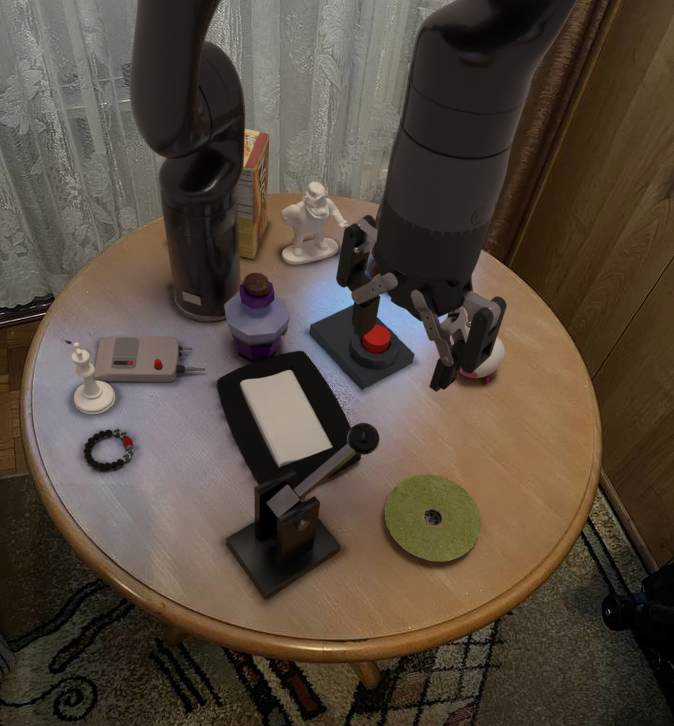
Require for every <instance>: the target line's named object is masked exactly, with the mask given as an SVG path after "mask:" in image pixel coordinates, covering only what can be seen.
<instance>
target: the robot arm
mask: <svg viewBox="0 0 674 726" xmlns="http://www.w3.org/2000/svg"><path fill="white" fill-rule="evenodd" d="M136 1H137V2H136V11H135V12H136V13H135V23H134V30H133V31H134V33H133V41H132V43H133V44H132V50H131V60H130V69H129V80H128V81H129V83H128V84H129V85H128V88H129V89H128V92H129V93H128V94H129V102H130V109H131V113H132V118H133V120H134V123H135V126H136V129H137V131H138V133H139V135H140V136H141V138H142V139H143V141H144V142H145V144H146V145H147V146H148V148H149V149H151V151H153V153H155V154H156V155H158V156H160V157H163V158H165V159H164V160H163V162H162V164H161V165H160V168H159V170H158V176H157V180H158V181H157V183H158V191H159V197H160V203H161V210H162V218H163V224H164V230H165V236H166V244H167V251H168V258H169V267H170V272H171V280H172V287H173V298H174V299H173V300H174V304H175V307H176V308H177V309H178V311H179V312H180V313H181V314H182V315H183V316H185V317H187V318H189V319H191V320H194V321H197V322H204V323H211V322H218V321H222V320H225V319H226V313H225V308H224V304H225V303H227V302H228V301H229V300H230V299H231V298H232V297H233V296H234V295H235V294H237V293H238V292H239V291H240V285H241V260H240V259H241V258H240V257H241V256H240V253H239V224H238V196H237V186H238V183H239V181H240V178H241V176H242V172H243V166H244V141H245V129H246V103H245V102H246V101H245V95H244V88H243V85H242V82H241V78H240V75H239V72H238V70H237V68H236V66H235V65H234V63H233V61H232V59H231V58H230V57H229V55H228V53H226V52H225V51H224V50H223V49H222V48H221V47H219V46H218V45H217V44H215V43H213V42H211V41H209V40H206V38H207V34H208V31H209V28H210V26H211V23H212V21H213V19H214V16H215V14H216V12H217V10H218V8H219V5H220V3H221V2H222V0H136ZM578 1H579V0H454V1H453V0H452V1H451V2H449V3H448V4H445V5H444V6H443V5H442V6H441V7H439V8H438V9H436V10H434V11H433V12H432V13H431V14H429V15H428V16H427V17H425V19H424V20H423V21H422V22H421V24H420V26H419V27H418V30H417V32H416V35H415V37H414V41H413V45H412V49H411V54H410V59H409V63H410V65H409V71H407V78H406V83H405V88H404V94H403V101H402V106H401V111H400V118H399V122H398V127H397V130H396V132H395V136H394V138H393V143H392V145H391V150H390V154H389V155H390V156H389V160H388V165H387V172H386V178H385V185H384V190H383V194H384V196H383V195H382V197H383V202H382V208H381V214H380V220H379V226H378V230H377V229H375V227H376V222H375V217H374V216H372V215H370V214H366V215H364V216H363V217H361V218H359V219H357V220H356V221H354V222H352V223H351V225H349V226H348V227H346V228H345V229H343V235H342V240H341V248H340V253H339V258H338V265H337V270H336V276H335V280H336V283H337V284H338V286H340V287H341V288H344V289H345V288H348V290H350V292H351V294H350V296H351V299H352V301H353V305H354V307H353V314H352V315H353V316H352V325H353V326H354V334H355V335H357V336H358V337H360V338H362V337H363V336H365V335H366V334H367V333H369V332H370V331H371V330H372V329H373V328H374V327H375V324H376V319H377V317H378V315H379V314H378V313H379V309H380V308H379V307H380V302H381V296H380V295H382V294H384V293H387V295H388V296H389V297H390V303H393V304H394V305H396V306H397V307H399V308H402V309H404V310H406V311H407V312H408V314H410V315H411V316H412V317H413V318H414V319H416V320H418V321H419V322H421V323H422V324H423V327H424V330H425V333H426V335H427V339H428V340H429V341H430V342H434V344H435V347H436V350H437V353H438V356H439V358H438V359H437V361H436V364H435V366H434V370H433V373H432V375H431V376H432V377H431V380H430V383H429V388H430V389H431V390H432V391H434V392H435V393H437V392H439V391H440V390H442V391H445V390H446V389H448V388H449V387H450V386H451V385H452V384H453V383H455V381H456V380H458V377H459V374H460V369H461V368H462V370H463V371H464V372H466V373H468V374H471V373H472V372H474V371H475V370H476V369H477V368H478V367H479V366H480V365H481V364H482V363H484V362H485V361H486V360H487V359H488V358H489V357H490V356H491V354H492V351H493V347H494V344H495V341H496V338H497V337H498V335H499V332H500V328H501V325H502V322H503V319H504V316H505V313H506V310H507V306H508V305H507V302H506V300H505V299H504V298H503V297H501V296H498V295H497V296H494V297H492V299H491V300H489V299H487V298H485V297H484V296H482V295H480V294H479V293H476V292H475V291H474V287H473V281H472V279H473V277H472V276H473V273H474V271H475V269H476V267H477V264H478V261H479V260H480V255H481V253H482V250H483V246H484V244H485V241H486V238H487V235H488V232H489V228H490V226H491V222H492V219H493V217H494V213H495V210H496V207H497V204H498V201H499V198H500V196H501V195H500V194H501V192H502V189H503V186H504V182H505V180H506V176H507V172H508V166H509V161H510V155H511V151H512V146H513V142H514V139H515V136H516V132H517V129H518V126H519V123H520V120H521V117H522V114H523V111H524V109H525V105H526V101H527V98H528V95H529V94H530V93H529V92H530V90H531V86H532V83H533V78H534V77H535V73H536V71H537V69H538V67H539V66H540V65H541V63H542V61H543V59H544V58H545V56H546V54H547V53H548V51H549V50H550V48H551V47H552V45H553V44H554V42H555V41H556V39H557V37H558V36H559V34H560V33H561V31H562V29H563V27H564V26H565V24H566V22H567V20H568V19H569V16H570V15H571V13H572V12H573V10H574V8H575V6H576V5H577V3H578ZM371 249H373V255H374V258H375V261H376V264H377V267H378V269H379V272H380V274H378V275H377V276H375V277H373V278H372V277H371V278H370V277H369V276H368V274H367V273H366V271H367V268H368V263H369V259H370V254H371ZM375 261H374V262H375ZM465 311H466V312H465ZM466 314H467V315H466ZM445 315H447V317H446V318H445V319H444V320H443V321H441V322H440V319H439V318H441V317H442V316H445ZM466 327H467V328H469V331H468V333H467V330H466ZM451 338H452V341H451ZM452 342H453V344H452Z"/></svg>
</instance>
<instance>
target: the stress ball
mask: <svg viewBox="0 0 674 726" xmlns="http://www.w3.org/2000/svg"><path fill="white" fill-rule="evenodd" d="M505 354H506V348H505V344H504V342H503V341H502V339H500V337H498V336H497V338H496V341H495V344H494V347H493V351H492V354H491V356H490V357H489V358H488V359H487V360H486V361H485V362H484V363H482V364H481V365H480V366H479V367H478V368H477V369H476V370H475V371H474V372H472V373H471V374H468V373H466V372H464V371H463V370H462V368H461V369H460V372H459V374H461V375H463V376H464V377H467V378H471V379H479V378H480V379H481V378H484V377H485V383H488V382H490V380H491V378H489V377H488V376H489V375H491V374H492V373H494V372H495V371H497V370H498V368H500V366H501V365H502V363H503V362H504V358H505Z"/></svg>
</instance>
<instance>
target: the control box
mask: <svg viewBox="0 0 674 726" xmlns="http://www.w3.org/2000/svg"><path fill="white" fill-rule="evenodd" d="M353 307H354V304H352V305H350V306H347V307H346V308H343V309H341V310H339V311H337V312H335V313H333V314H331V315H328V316H326V317H324V318H322V319H320V320H317V321H315V322H313V323H311V324H310V326H309V334H310V335H311V337H312V338H313V339H314V340H315V341H316V342H317V343H318V344H319V345H320V346H321V347H322V349H324V351H325V352H326V353H327V354H328V355H329V356H330V357H331V358H332V359H333V360H334V361H335V363H336V364H338V366H339V367H340V368H341V369H342V370H343V371H344V372H345V374H346V375H348V376H349V378H351V380H352V381H353V382H354V383H355V384H356V385H357V386H358V387H359V389H361V390H364V389H366V388H368V387H370V386H372V385H373V384H375V383H377V382H379V381H381V380H382V379H384V378H386V377H388V376H390V375H392V374H394V373H396V372H397V371H399V370H401V369H403V368H405V367H407V366H408V365H411V364H412V363H413V362H414V359H415V353H414V352H413V351H412V350H411V348H410V347H408V346H407V345H406V344H405V343H404V342H403V341H402V340H401V338H399V337H398V335H397V334H396V333H395V332H394V331H393V330H392V329H391V328H389V327H388V326H387V325H386V324H385V323H384V322H383V321H382V320H381V319H380V318H379V317H378V316H377V319H376V324H375V325H380V326H383V327H385V328H386V329H387V330H388V331H389V333H390V336H391V337H390V342H389V346H388V349H387V350H386V351H385V352H383V353H380V354H373V353H370V352H368V351H366V350H365V349H364V347H363V346H362V339H363V337H362V338H360V337H358V336H357V335H355V334H354V326H353V325H352V316H353V315H352V314H353Z"/></svg>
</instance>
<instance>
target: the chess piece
mask: <svg viewBox="0 0 674 726" xmlns="http://www.w3.org/2000/svg"><path fill="white" fill-rule="evenodd" d="M73 345H74V348H75V351H73V352H72V354H71V360H72V362H73V363H74V364H75V365H76V367H75V374H76V375H77V376H78V377H80V378H82V380H83V384H81V385H80V386H78V388H77V389H76V390H75V392H74V395H73V403H74V406H75V407H76V409H77V410H78V411H80V412H81V413H83V414H86V415H98V414H103V413H105V412H107V411H108V410H110V409H111V408H112V407H113V405H114V404H115V402H116V393H115V389H114V388H113V387H112V386H111V384H109V383H108V382H106V381H95V379H94V371H95V365H93V364H92V363H91V362H90V359H91V355H90V352H89V351H88V350H86V349H81V347H80V344H79V342H78V341H77V342H73Z"/></svg>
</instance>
